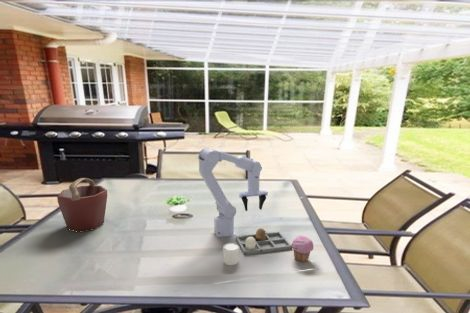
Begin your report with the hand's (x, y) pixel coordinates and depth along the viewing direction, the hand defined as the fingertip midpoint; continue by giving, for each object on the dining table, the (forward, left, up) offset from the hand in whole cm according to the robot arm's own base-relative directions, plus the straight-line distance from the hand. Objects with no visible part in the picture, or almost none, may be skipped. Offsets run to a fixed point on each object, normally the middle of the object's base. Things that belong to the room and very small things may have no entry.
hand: (253, 209), depth 159 cm
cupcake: (+10, -36, -10) cm, 39 cm away
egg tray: (-1, -20, -9) cm, 22 cm away
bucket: (-85, +23, -10) cm, 89 cm away
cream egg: (-8, -24, -9) cm, 27 cm away
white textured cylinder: (-19, -31, -10) cm, 38 cm away
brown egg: (-1, -17, -9) cm, 19 cm away
